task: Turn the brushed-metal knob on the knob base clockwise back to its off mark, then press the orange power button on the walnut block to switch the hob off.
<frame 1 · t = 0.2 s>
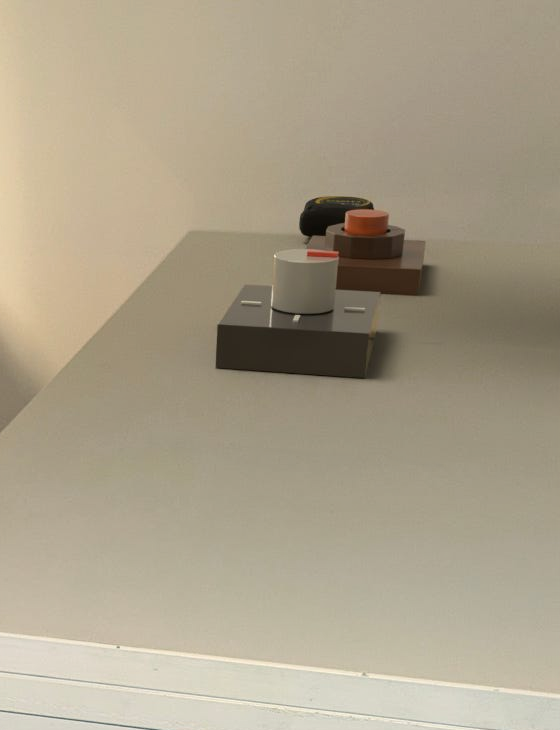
tape measure: (339, 244, 126), on the table
power button: (366, 223, 111), point 4 cm above the table, slide at 0.1 cm
hob knob: (304, 278, 90), point 5 cm above the table, hinge at 90.0°
knob base: (299, 349, 93), on the table
switch block: (361, 277, 113), on the table
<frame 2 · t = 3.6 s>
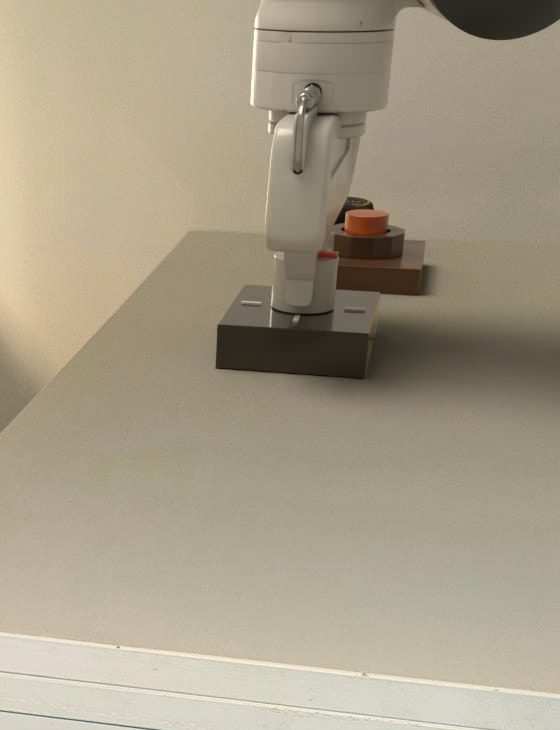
hand: (303, 293, 91), 4 cm above the table, tool pointing down, fingers closed on hob knob, 4 cm apart
hob knob: (304, 278, 90), point 5 cm above the table, hinge at 89.9°, touching gripper
everything else where it was.
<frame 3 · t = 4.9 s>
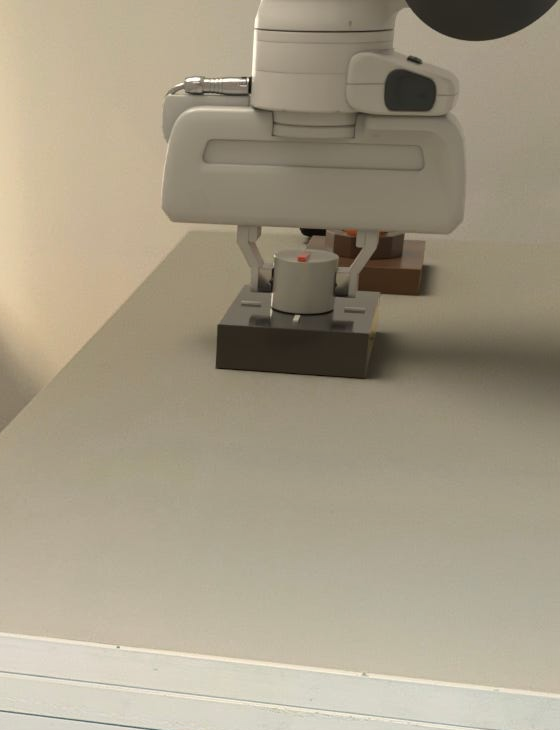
hand: (303, 293, 91), 4 cm above the table, tool pointing down, fingers closed on hob knob, 4 cm apart
hob knob: (304, 278, 90), point 5 cm above the table, hinge at -2.6°, touching gripper
everything else where it was.
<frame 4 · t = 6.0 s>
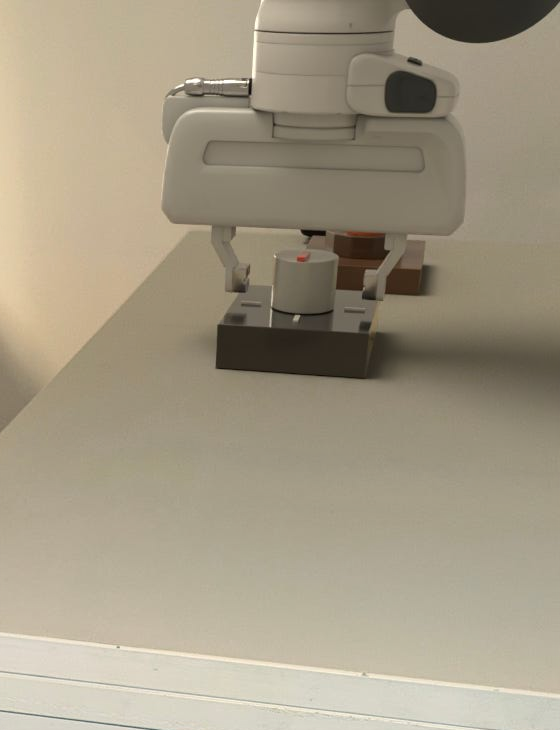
hand: (304, 295, 91), 4 cm above the table, tool pointing down, fingers open, 8 cm apart
hob knob: (304, 278, 90), point 5 cm above the table, hinge at -4.3°
everything else where it was.
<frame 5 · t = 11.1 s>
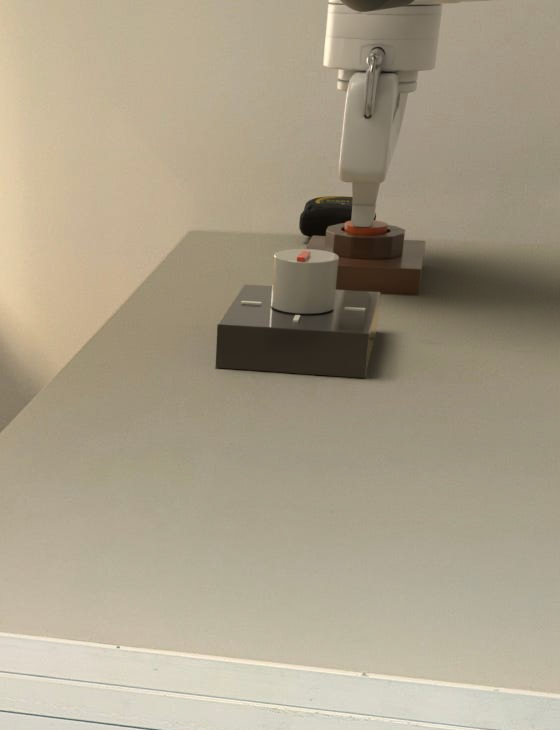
hand: (362, 224, 110), 5 cm above the table, tool pointing down, fingers closed, pressing on power button
power button: (365, 234, 111), point 4 cm above the table, slide at -0.8 cm, touching gripper
everything else where it was.
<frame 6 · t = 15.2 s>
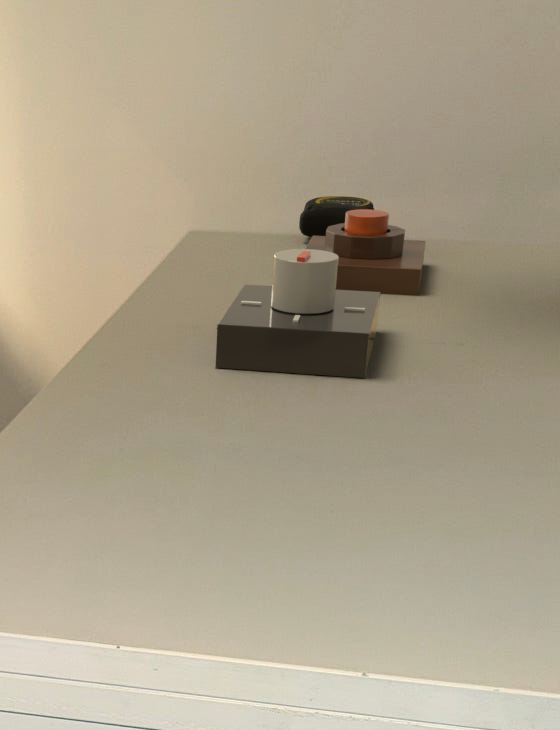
power button: (366, 223, 111), point 4 cm above the table, slide at 0.1 cm
everything else where it was.
at the end: hob knob at -4° (first picture: +90°); power button pushed in 1.1 cm at the most during the clip, back to where it started at the end; power button slide at 0.1 cm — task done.
